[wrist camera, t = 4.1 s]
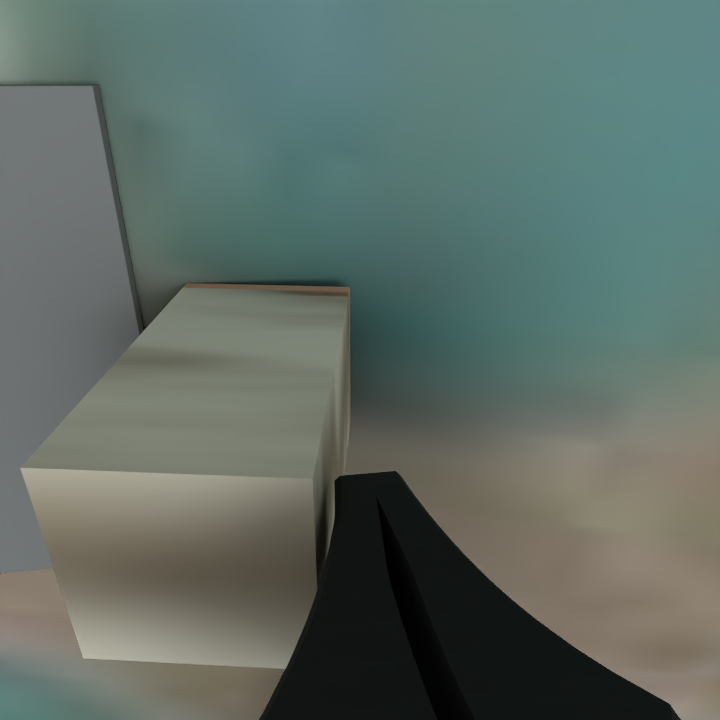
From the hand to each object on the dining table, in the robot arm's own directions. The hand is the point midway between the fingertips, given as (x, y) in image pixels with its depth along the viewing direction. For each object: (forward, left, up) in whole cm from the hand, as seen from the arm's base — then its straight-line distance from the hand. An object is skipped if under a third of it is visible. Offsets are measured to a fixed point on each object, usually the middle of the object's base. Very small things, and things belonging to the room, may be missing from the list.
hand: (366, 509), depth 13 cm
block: (0, +2, -8) cm, 8 cm away
